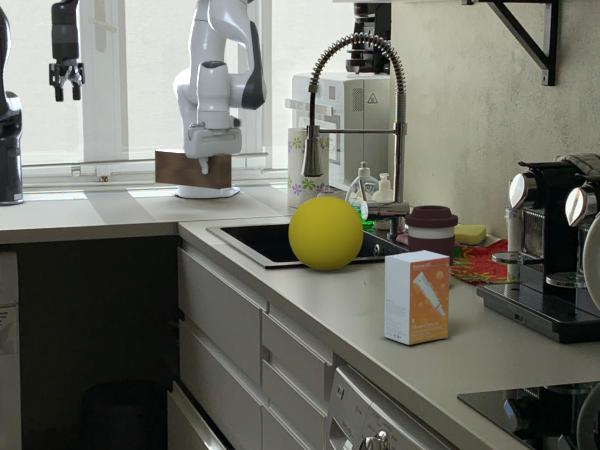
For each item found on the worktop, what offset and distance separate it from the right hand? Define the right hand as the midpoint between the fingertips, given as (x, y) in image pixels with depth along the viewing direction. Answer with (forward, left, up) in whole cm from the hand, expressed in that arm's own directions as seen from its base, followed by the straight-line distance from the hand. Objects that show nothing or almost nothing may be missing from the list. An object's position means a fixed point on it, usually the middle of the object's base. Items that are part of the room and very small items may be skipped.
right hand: (214, 172), depth 285 cm
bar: (-2, -7, -4) cm, 9 cm away
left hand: (+7, -40, +19) cm, 46 cm away
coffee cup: (+67, +76, -12) cm, 103 cm away
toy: (+59, +53, -12) cm, 80 cm away
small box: (+103, +83, -12) cm, 133 cm away
